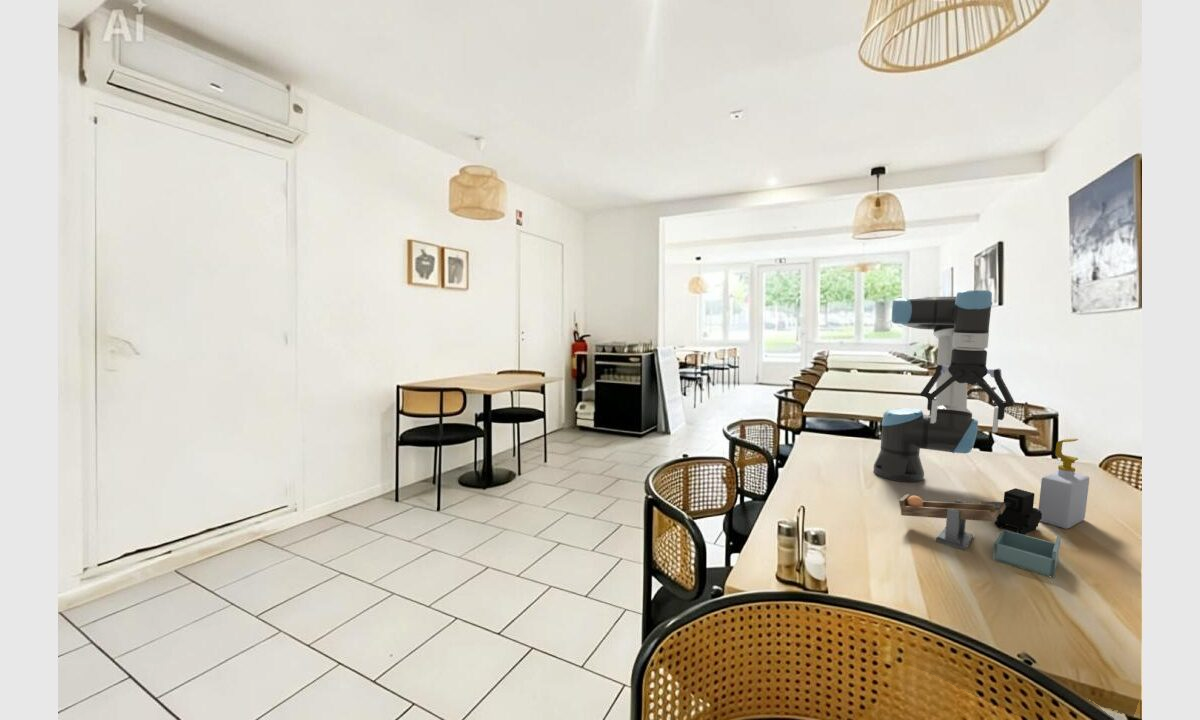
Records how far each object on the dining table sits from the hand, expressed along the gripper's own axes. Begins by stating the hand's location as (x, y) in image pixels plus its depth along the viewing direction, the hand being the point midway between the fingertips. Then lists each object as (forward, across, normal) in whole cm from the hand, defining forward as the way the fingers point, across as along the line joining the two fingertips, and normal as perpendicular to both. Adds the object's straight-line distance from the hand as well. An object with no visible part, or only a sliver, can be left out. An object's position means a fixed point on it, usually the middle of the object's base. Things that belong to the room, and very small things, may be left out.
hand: (962, 426), depth 132 cm
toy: (+27, +12, +4) cm, 30 cm away
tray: (+27, +16, -13) cm, 34 cm away
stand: (+27, +2, -12) cm, 30 cm away
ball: (+20, -7, -12) cm, 24 cm away
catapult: (+21, +1, -9) cm, 23 cm away
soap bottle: (+27, +20, +22) cm, 40 cm away
